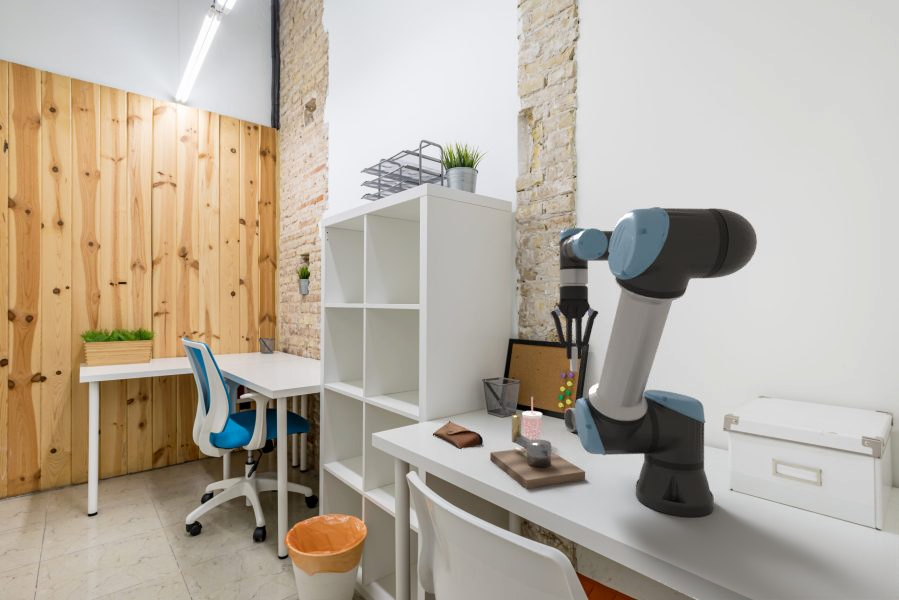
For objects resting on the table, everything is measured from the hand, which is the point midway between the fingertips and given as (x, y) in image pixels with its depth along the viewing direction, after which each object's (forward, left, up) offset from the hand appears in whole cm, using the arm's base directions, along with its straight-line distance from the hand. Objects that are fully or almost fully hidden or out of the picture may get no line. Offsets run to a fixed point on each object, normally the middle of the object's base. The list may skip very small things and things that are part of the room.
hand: (573, 370), depth 124 cm
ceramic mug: (+22, -17, -24) cm, 37 cm away
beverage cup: (+15, +4, -24) cm, 29 cm away
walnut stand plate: (-4, +14, -24) cm, 28 cm away
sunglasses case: (+26, +25, -25) cm, 44 cm away
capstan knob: (-1, +15, -22) cm, 26 cm away
